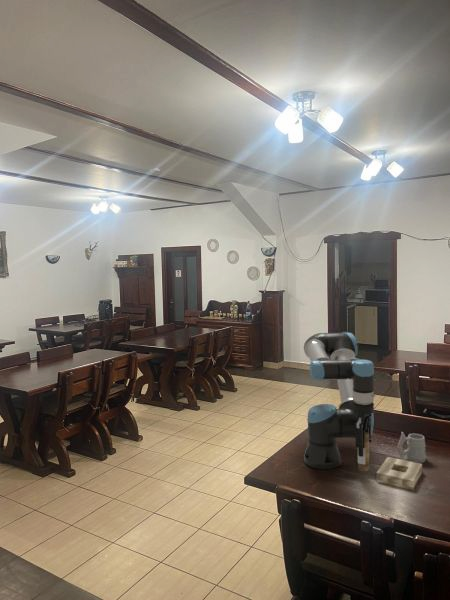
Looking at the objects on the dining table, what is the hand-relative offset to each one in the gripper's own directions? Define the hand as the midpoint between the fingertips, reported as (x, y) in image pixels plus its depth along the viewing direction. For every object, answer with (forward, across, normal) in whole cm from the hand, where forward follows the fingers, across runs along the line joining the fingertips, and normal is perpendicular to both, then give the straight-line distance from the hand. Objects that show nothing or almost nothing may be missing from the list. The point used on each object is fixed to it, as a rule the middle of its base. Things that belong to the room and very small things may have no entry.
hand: (363, 461), depth 173 cm
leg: (+3, 0, 0) cm, 3 cm away
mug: (+8, +26, -12) cm, 30 cm away
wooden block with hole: (+7, +8, -11) cm, 16 cm away
